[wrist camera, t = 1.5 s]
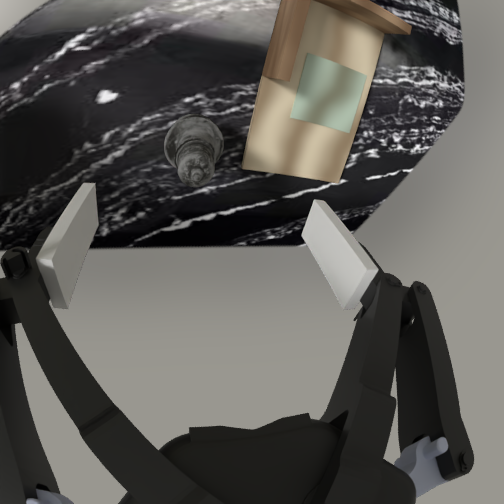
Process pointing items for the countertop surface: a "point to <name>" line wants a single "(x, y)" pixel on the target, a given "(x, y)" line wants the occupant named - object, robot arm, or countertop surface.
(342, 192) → the countertop surface
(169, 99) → the countertop surface
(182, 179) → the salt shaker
